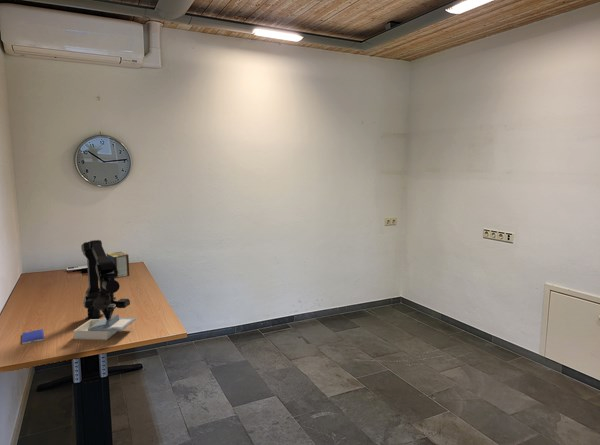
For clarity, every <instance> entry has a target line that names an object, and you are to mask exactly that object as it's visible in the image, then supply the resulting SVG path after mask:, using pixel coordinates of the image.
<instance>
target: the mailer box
mask: <svg viewBox="0 0 600 445" xmlns="http://www.w3.org/2000/svg"><path fill="white" fill-rule="evenodd" d="M100 320H101V319H100V318H99V319H88V320H87V321H86V322H84V323H83V324H81V325H80V326H78V327H77V328H75V329H73V339H74V340H90V341H91V340H96V341H97V340H98V341H108V340H109V339H110V338H111V337H112V336H113V335H115V334H116V333H118V331H90V330H88V328H90V327H91V326H93V325H94V324H96V323H97V322H98V321H100Z"/></svg>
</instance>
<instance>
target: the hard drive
mask: <svg viewBox="0 0 600 445" xmlns="http://www.w3.org/2000/svg"><path fill="white" fill-rule="evenodd" d="M42 340H43V341H45V334H44V328H43V329H42V328H40V329H36V330H31V331H25V332H22V335H21V345H27V344H31V342H32V343H36V341H37V342H41V341H42Z"/></svg>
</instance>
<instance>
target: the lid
mask: <svg viewBox="0 0 600 445" xmlns="http://www.w3.org/2000/svg"><path fill="white" fill-rule="evenodd" d="M136 320H137V318H136V317H120V316H119V314H115V315H112V316H111V318H110V319H109V320H106V318H105V316H104V317H103V318H101V319H100V321H98V322H97V323H96V324H94V325H93V326H91V327H90V328H88V330H90V331H117V332H122V331H124V330H125V329H126V328H127V327H129V326H130V325H131V324H133V323H134V322H135V321H136Z"/></svg>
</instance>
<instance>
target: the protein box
mask: <svg viewBox="0 0 600 445" xmlns="http://www.w3.org/2000/svg"><path fill="white" fill-rule="evenodd" d="M106 256H107V257H109V258H111V259H112V261H113V263H115V265H116V267H117V270H118V276H115V277H114V279H119V278H123V277H124V278H125V277H130V275H131V274H130V260H129V257H130V256H129V254H127V253H125V252H122V251H115V252H108V253H106ZM113 273H114V271H113ZM108 274H110V273H108Z"/></svg>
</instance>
